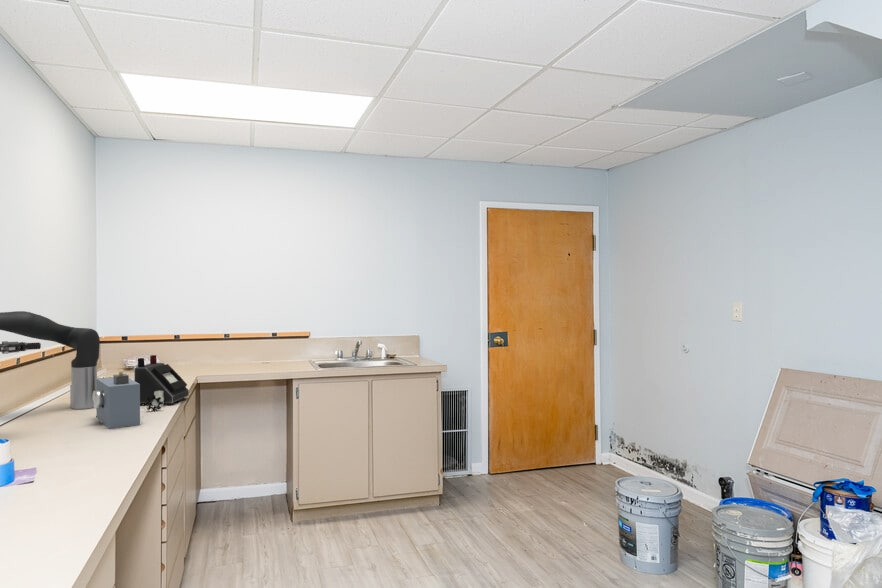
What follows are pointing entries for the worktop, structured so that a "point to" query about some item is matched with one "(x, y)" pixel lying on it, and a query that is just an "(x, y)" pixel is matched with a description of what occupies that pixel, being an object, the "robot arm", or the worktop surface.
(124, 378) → the potentiometer
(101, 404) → the knob
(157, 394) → the valve
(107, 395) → the housing
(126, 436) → the worktop surface
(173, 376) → the voltmeter
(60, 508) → the worktop surface
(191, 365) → the worktop surface
